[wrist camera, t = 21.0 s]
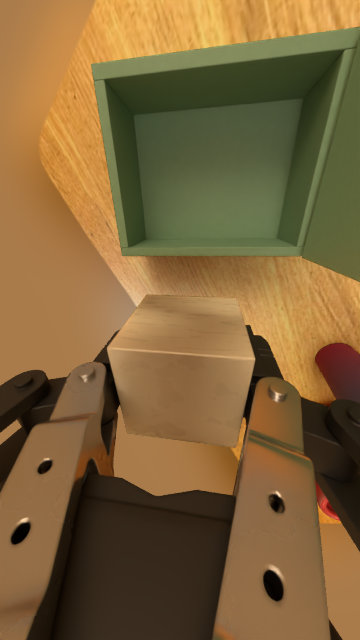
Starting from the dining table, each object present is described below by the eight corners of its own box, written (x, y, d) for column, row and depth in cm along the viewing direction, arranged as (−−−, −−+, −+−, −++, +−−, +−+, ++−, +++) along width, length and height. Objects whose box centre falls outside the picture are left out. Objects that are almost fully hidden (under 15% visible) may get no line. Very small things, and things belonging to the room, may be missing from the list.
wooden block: (153, 362, 12) (126, 434, 8) (146, 294, 10) (105, 347, 6) (228, 368, 12) (236, 448, 8) (237, 297, 9) (256, 359, 6)
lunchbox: (142, 245, 25) (121, 256, 19) (127, 107, 19) (90, 63, 13) (280, 244, 23) (304, 256, 17) (312, 88, 17) (365, 25, 11)
